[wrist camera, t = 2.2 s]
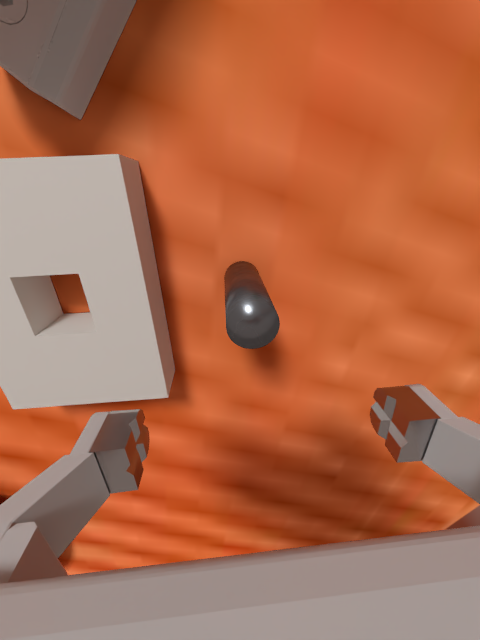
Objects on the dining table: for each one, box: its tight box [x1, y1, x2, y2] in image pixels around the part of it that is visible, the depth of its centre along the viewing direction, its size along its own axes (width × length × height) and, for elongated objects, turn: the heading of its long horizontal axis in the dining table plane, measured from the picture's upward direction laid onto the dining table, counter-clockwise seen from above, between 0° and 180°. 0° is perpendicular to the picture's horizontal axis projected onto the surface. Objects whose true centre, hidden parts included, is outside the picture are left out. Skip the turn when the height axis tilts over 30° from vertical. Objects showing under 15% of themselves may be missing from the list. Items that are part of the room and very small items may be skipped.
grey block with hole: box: [0, 154, 175, 409], centre depth 21 cm, size 13×18×4 cm
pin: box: [224, 261, 280, 349], centre depth 19 cm, size 3×3×9 cm
